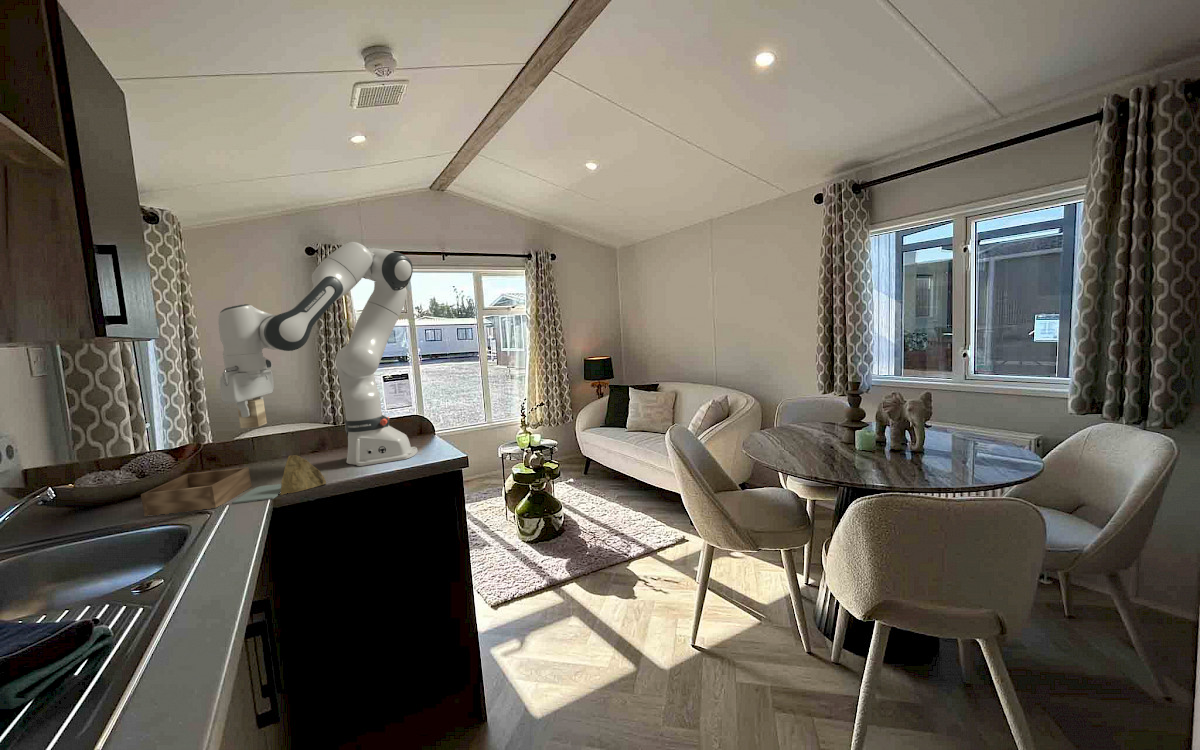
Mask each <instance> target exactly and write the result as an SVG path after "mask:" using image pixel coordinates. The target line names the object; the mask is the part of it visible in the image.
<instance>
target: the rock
mask: <svg viewBox="0 0 1200 750" xmlns="http://www.w3.org/2000/svg"><path fill="white" fill-rule="evenodd" d="M285 462H286V463H285V466H284V470H283V475H282V479H281V481H280V482H281V483H280V484H281V493H280V494H279V495H280V496H283V495H287V493H288V494H293V493H294V494H295V493H298V492H302V491H305V490H309V489H314V488H316V487H321V486H324V485H326V484H327V480H326V479H325V476H324V475H323V474H322V472H321V470H319V469H318V468H317V467H315V466H314V465H313V464H312V463H311V462H309V461H308V460H307V459H305V458H303V457H301V456H300V455H296V454H295V455H294V454H292V455H288V457H287V461H285Z"/></svg>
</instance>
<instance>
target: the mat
mask: <svg viewBox="0 0 1200 750" xmlns="http://www.w3.org/2000/svg"><path fill="white" fill-rule="evenodd" d="M280 492H281V483H278V484H268V485H260V486H259V485H258V486H256V487H254V488H253V489H251V490H249V491H248V492H246V493H244V494H243V495H241V496H240V497H238V498H237V499H235V500H233V501H231V505H236V504H243V503H244V502H245V503H251V502H252V501H253V502H258V501H257V500H262V501H265V500H264V499H270V500H274V499H275V498H277V497H278V496H279V495H280V494H279V493H280ZM278 494H279V495H278Z"/></svg>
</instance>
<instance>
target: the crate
mask: <svg viewBox="0 0 1200 750" xmlns="http://www.w3.org/2000/svg"><path fill="white" fill-rule="evenodd" d="M250 487H251V488H253V486H252V479H251V475H250V468H249V466H247V467H239V468H238V467H237V468H228V469H221V470H220V469H219V470H211V471H204V472H203V471H202V472H193V473H186V474H183V475H180V476H179V477H177V478H174V479H172V480H169V481H167V482H165V483H163V484H161V485H158V486H156V487H154V488H152V489H150V490H147V491H145V492H143V493H141V494H140V498H141V499H140V500H141V503H142V509H143V513H144V514H143V515H144V517H145V516H148V515H157V516H160V515H159V514H165V515H170V514H169V513H174V514H179V513H178V512H182V513H188V512H187V511H190V512H194V511H193V510H199V511H203V510H202V509H207V510H212V509H211V508H215V509H217V508H216V507H218V506H219V507H221V506H223V505H225V503H227V501H228V502H229V501H231V500H233V499H234V498H236V497H238V496H239V495H241V494H243V493H244V492H245V490H246V491H247V490H249V489H251V488H250ZM248 488H249V489H248ZM243 491H244V492H243ZM240 493H241V494H240ZM237 495H238V496H237ZM232 498H233V499H232ZM222 504H223V505H222ZM220 505H221V506H220ZM219 507H218V508H219Z"/></svg>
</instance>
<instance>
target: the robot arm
mask: <svg viewBox="0 0 1200 750" xmlns="http://www.w3.org/2000/svg"><path fill="white" fill-rule="evenodd" d="M413 269H414V268H413V263H412V260H411V259H410V258H409V257H408V256H406V255H404V254H403V253H400V252H399V251H393V250H390V249H386V248H376V247H369V246H365V245H363V244H362V243H361V242H357V241H349V242H347V243H345V244H344V245H341V246H340V247H338V248H337V249H335V250H334V251H333V252H332V253H330V254H329V255H328V256H327V257H325V258H324V259H323V260H322V261H321V262H320V263H319V265H317V267H316V268H315V270H314V271H313V272H312V274H311V282H312V285H313V286H312V288H311V289H310V291H309V292H308V293H307V294H306V295H305V296H303V298H302V299H301V300H300V301H299V302H298V303H297V304H296V305H295V306H294V307H293V308H292V309H290V310H288V311H285V312H282V313H280V314H279V313H278V314H277V315H275V314H274V313H270V312H266V311H263V310H262V309H261V310H260V309H259V308H257V307H254V306H253V305H252V304H248V303H247V304H246V303H245V304H237V305H233V306H232V305H231V306H229V307H226V308H223V309H222V310H221V311H220V312H219V313H218V314H219V315H218V319H217V320H218V321H217V322H218V333H219V340H220V341H221V344H222V347H223V351H222V357H223V359H222V360H223V363H224V364H223V365H224V370H223V372H222V373H221V376H220V379H219V391H220V400H221V401H222V403H223V404H225V405H226V404H227V405H228V404H229V405H230V404H236V407H238V408H239V410H240V411H241V416H242V417H249V416H251V410H249V408H248V406H247V404H248V400H255V399H263V400H264V396H266V395H270V394H273V392H274V389H275V385H274V384H275V383H274V377H273V376H274V374H273V371H272V370H271V369H272V368H273V361H272V360H270V359H268V358H266V357H265V356H264V354H263V353H264V352H263V349H270V350H277V351H284V352H293V351H296V350H299V349H300V348H303V346H305V345H306V343H307V342H308V340H309V337H310V336H311V332H312V329H313V327H314V325H315V324H316V322H317V321H319V320H320V318H321V317H322V316H323V315H324V314H325V312H326V311H328V309H329V308H330V307H331V306H332V305H334V303H335V302H336V301H337V300H340V299H341V298H342V297H343V296H345V295H346V294H348V293H349V292H350V291H351V290H353V288H355V287H356V286H357V284H359V282H360V281H361V280H362V279H365V280H369V281H373V283H374V287H373V291H372V292H371V295H370V296H369V297H368V299H367V301H366V303H365V305H364V307H363V309H362V311H361V313H360V315H359V316H358V319H357V321H356V322H355V325H354V327H353V332H352V334H351V336H350V338H349V341H348V343H347V345H345V346H343V347H341V349H339V350H338V351H337V354H336V355H335V356H336V357H335V365H336V371H337V376H338V381H339V386H340V390H341V395H342V398H343V405H344V413H345V421H344V424H345V425H344V427H345V433H346V437H347V455H346V457H347V458H346V463H347V464H349V465H356V466H357V467H363V466H368V465H369V466H370V465H375V464H376V465H377V464H382V463H387V462H388V463H389V462H394V461H396V462H397V461H402V460H406V459H410V458H412V457H414V456H415V455H416V454H417V453H418V451H419V450H418V448H417V446H411V443H410V439H409V437H408V435H407V434H405V433H404V432H402V431H400V430H399V429H396V428H394V427H393V426H392V425H390V416H385V415H383V411H382V405H381V397H380V396H381V395H380V391H379V389H378V385H377V381H376V377H375V374H374V373H376V371H377V370H378V368H379V366H380V362H381V360H382V358H383V355H384V352H385V350H386V347H387V344H388V341H389V338H390V336H391V334H392V331H393V329H394V328H395V327H396V324H397V321H398V320H399V318H400V316H401V314H402V311H403V309H404V306H405V303H406V300H407V296H408V290H407V286H408V285H409V283H410V281H411V279H412V276H413V271H414V270H413ZM238 408H237V409H238Z"/></svg>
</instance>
